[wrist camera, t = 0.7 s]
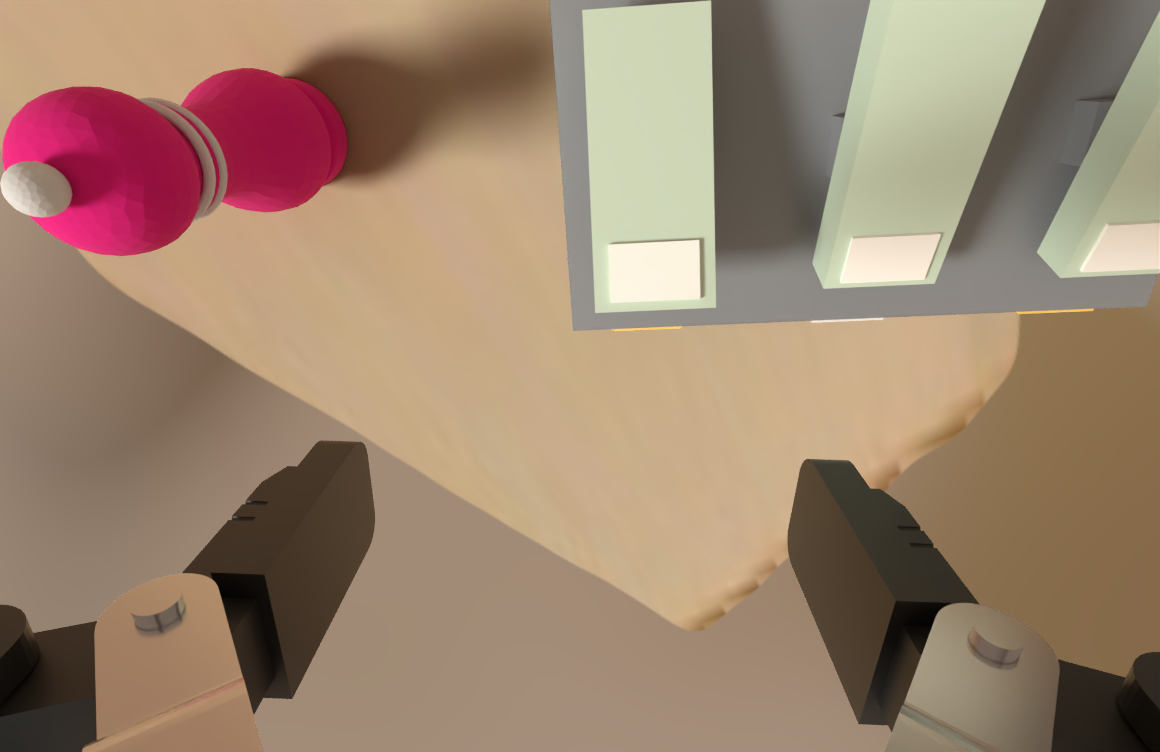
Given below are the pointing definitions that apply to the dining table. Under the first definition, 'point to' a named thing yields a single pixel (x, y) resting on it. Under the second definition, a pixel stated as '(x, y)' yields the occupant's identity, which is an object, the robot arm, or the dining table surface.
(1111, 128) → the rocker
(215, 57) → the dining table surface
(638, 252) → the block
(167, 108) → the pepper mill
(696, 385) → the dining table surface
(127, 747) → the robot arm
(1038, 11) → the block
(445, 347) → the dining table surface
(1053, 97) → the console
